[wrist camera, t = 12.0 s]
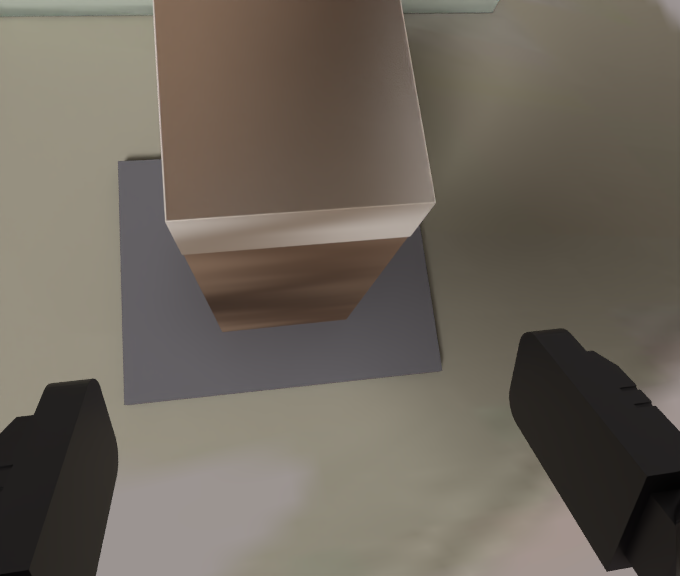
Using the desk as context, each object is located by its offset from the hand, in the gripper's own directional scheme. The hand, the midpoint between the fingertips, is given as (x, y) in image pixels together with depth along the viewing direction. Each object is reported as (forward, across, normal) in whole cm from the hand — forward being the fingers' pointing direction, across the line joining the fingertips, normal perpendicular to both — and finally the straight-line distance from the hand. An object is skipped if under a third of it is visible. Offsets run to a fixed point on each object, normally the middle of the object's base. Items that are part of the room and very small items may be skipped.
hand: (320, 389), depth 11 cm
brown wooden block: (+8, 0, +2) cm, 8 cm away
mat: (+8, 0, +2) cm, 9 cm away
